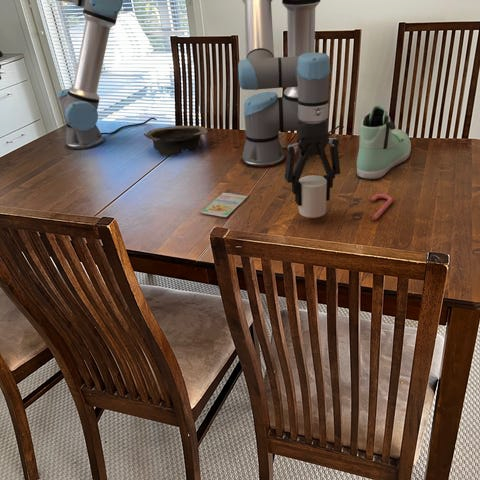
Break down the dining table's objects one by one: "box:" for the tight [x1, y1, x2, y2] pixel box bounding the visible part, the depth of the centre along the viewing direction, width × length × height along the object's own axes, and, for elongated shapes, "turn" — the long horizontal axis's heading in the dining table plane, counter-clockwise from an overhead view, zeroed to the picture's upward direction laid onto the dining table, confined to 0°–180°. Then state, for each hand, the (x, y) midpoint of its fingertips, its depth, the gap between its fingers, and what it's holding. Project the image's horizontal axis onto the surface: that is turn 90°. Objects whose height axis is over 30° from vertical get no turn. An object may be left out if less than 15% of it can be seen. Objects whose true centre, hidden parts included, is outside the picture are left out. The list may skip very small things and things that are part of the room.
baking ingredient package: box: [199, 191, 249, 218], centre depth 146 cm, size 9×1×15 cm
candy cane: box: [371, 193, 394, 221], centre depth 137 cm, size 6×15×2 cm, turn 145°
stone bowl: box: [143, 125, 208, 157], centre depth 189 cm, size 25×25×9 cm
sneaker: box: [356, 105, 412, 180], centre depth 161 cm, size 14×35×20 cm, turn 152°
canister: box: [298, 174, 327, 219], centre depth 131 cm, size 8×8×9 cm
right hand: (312, 201), depth 132 cm, fingers closed on canister, 7 cm apart
